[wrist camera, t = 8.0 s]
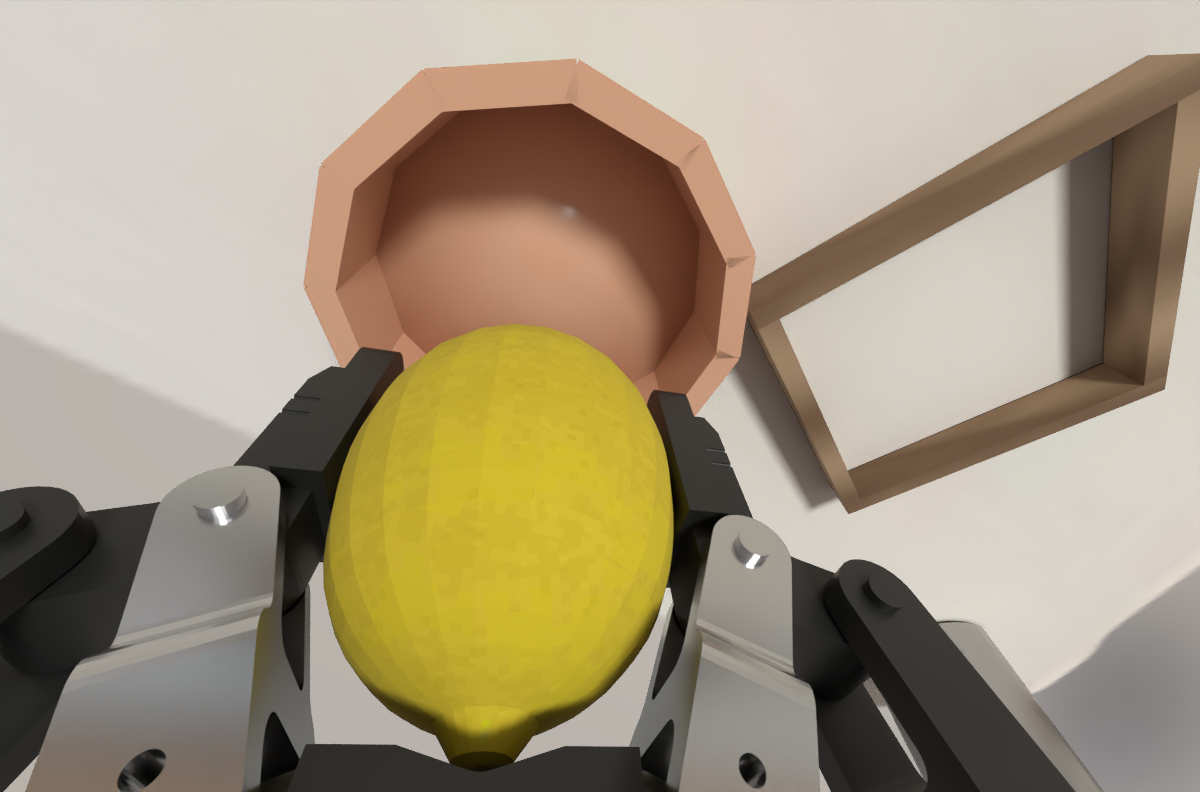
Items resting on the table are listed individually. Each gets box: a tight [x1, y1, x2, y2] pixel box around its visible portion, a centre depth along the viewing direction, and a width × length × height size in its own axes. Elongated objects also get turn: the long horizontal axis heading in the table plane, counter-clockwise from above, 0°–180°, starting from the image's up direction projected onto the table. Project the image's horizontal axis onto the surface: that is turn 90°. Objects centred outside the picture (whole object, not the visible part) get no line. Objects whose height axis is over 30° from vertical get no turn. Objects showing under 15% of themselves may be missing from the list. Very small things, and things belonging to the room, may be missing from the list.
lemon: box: [323, 324, 674, 772], centre depth 8 cm, size 6×6×8 cm
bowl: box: [304, 59, 756, 417], centre depth 15 cm, size 13×13×4 cm
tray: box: [747, 54, 1200, 514], centre depth 18 cm, size 14×14×2 cm
